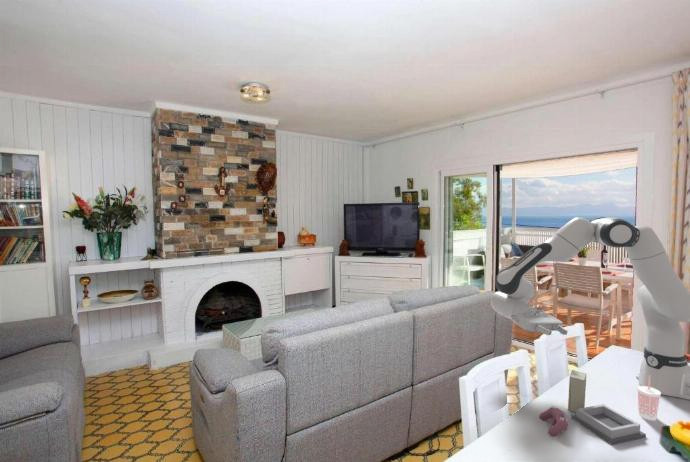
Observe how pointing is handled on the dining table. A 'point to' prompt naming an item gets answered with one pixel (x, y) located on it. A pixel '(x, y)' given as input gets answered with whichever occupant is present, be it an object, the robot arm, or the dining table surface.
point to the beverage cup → (648, 401)
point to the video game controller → (555, 420)
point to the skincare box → (576, 391)
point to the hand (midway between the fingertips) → (558, 333)
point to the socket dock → (608, 424)
